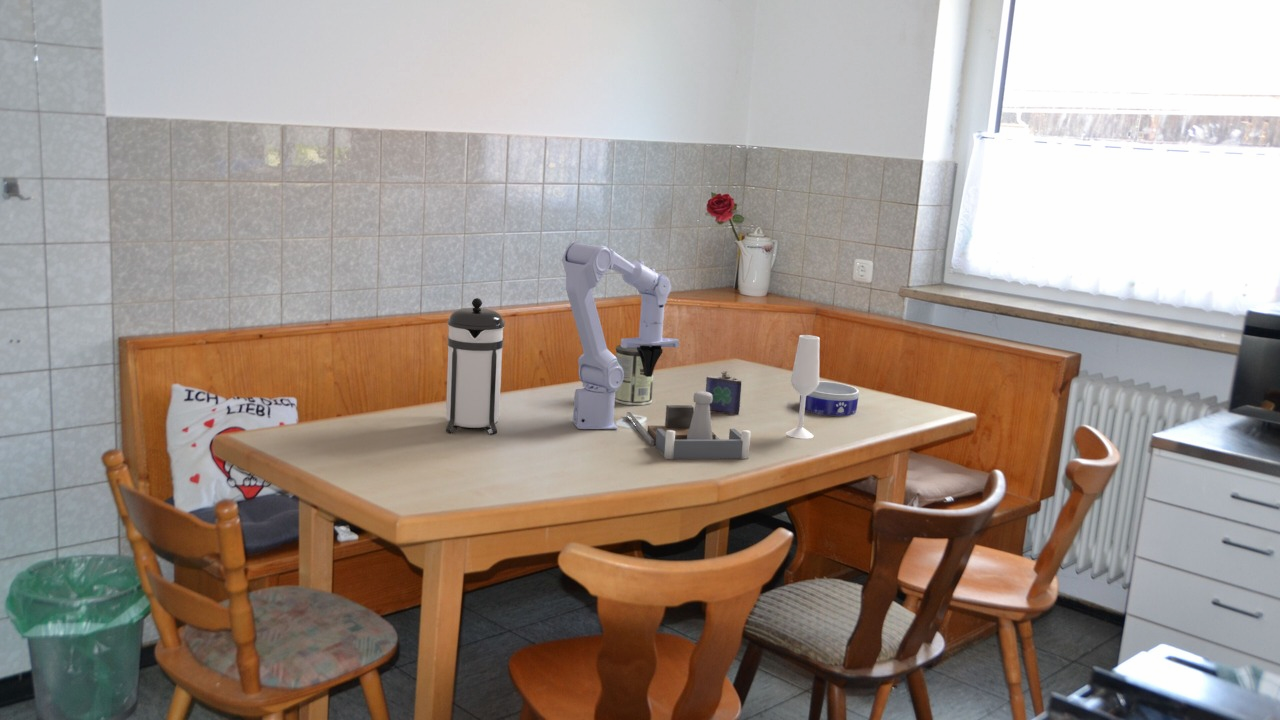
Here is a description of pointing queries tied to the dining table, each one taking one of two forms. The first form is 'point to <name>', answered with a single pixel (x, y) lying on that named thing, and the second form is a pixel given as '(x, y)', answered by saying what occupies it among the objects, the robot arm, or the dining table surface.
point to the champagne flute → (805, 377)
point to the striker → (676, 421)
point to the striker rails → (643, 431)
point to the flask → (724, 393)
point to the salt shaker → (701, 417)
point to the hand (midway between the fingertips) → (647, 375)
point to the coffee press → (474, 368)
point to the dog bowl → (832, 399)
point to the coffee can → (633, 378)
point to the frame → (703, 446)
